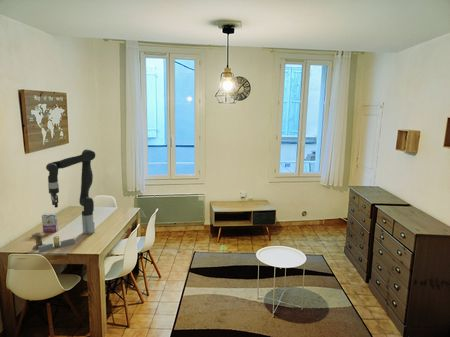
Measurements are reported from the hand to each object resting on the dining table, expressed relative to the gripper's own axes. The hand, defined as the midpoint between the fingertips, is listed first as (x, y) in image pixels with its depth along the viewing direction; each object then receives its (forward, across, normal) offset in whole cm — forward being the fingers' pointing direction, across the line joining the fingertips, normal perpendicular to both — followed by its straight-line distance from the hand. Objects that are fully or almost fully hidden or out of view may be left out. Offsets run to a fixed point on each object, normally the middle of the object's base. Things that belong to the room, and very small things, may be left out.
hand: (55, 206), depth 269 cm
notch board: (+30, -15, +4) cm, 34 cm away
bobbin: (+30, -7, +15) cm, 34 cm away
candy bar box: (+30, +25, 0) cm, 39 cm away
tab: (+30, -15, +4) cm, 33 cm away
